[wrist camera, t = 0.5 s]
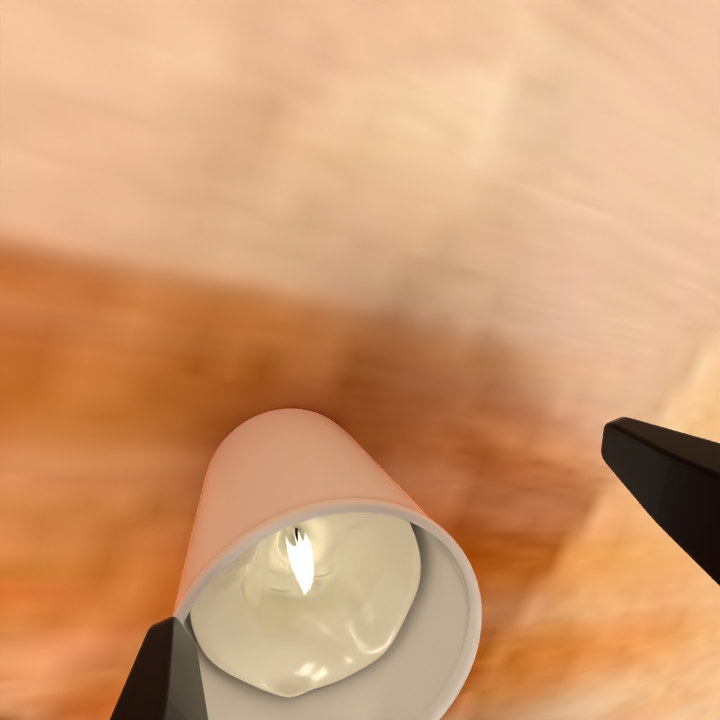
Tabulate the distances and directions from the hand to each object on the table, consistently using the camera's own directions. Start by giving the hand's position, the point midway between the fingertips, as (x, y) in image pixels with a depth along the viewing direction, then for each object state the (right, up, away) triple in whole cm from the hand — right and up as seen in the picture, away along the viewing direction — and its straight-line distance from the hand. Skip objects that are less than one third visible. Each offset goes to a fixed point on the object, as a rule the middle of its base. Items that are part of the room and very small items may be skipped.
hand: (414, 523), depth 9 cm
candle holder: (-5, -3, +16) cm, 17 cm away
